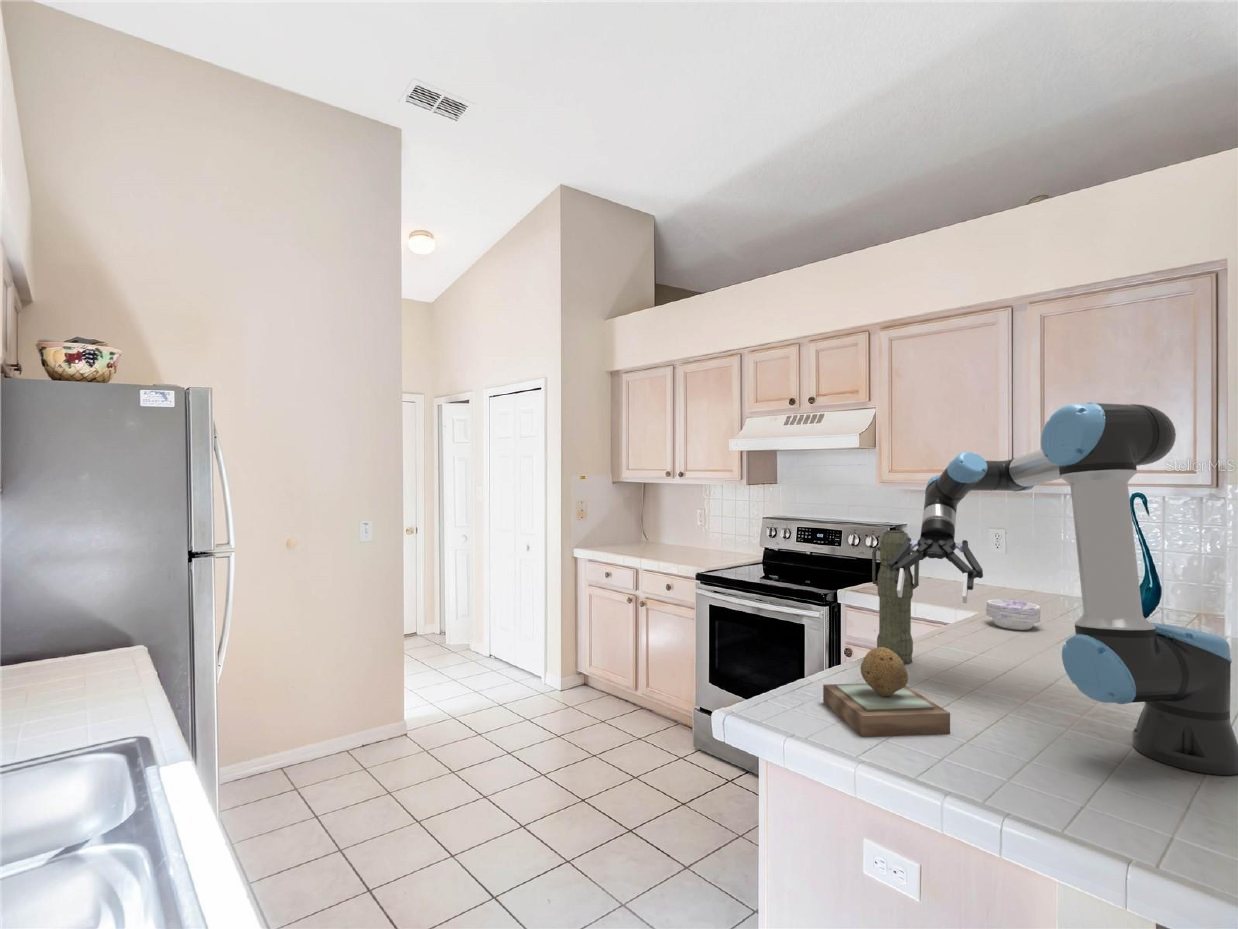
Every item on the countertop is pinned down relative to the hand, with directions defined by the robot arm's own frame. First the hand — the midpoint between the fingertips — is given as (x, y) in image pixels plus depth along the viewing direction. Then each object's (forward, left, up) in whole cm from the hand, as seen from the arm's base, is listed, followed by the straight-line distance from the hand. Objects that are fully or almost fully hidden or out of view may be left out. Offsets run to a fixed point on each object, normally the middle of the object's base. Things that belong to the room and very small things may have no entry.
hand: (931, 596), depth 147 cm
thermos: (+26, -6, -23) cm, 35 cm away
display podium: (-12, +18, -22) cm, 31 cm away
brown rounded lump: (-12, +18, -18) cm, 28 cm away
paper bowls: (+58, -65, -23) cm, 90 cm away
